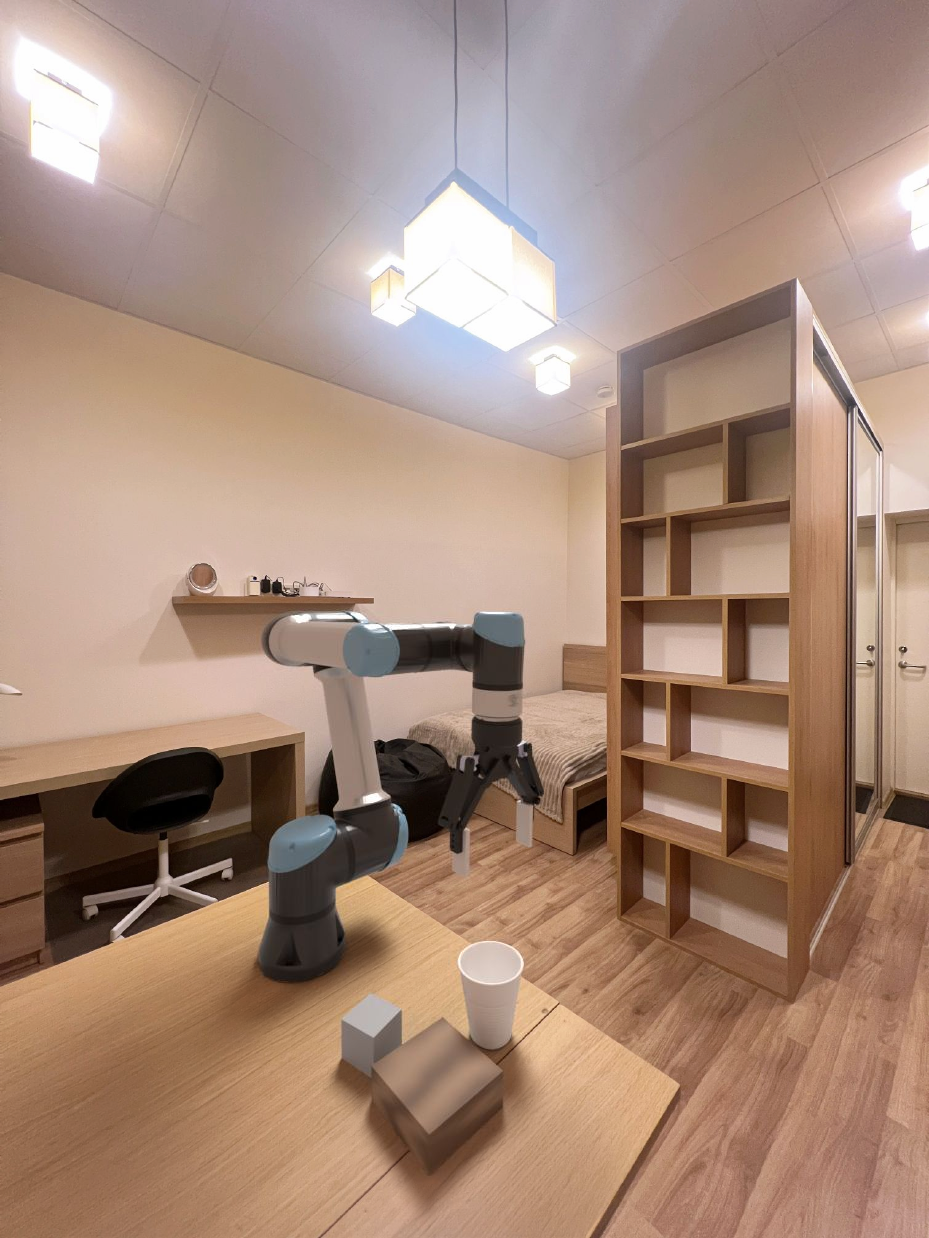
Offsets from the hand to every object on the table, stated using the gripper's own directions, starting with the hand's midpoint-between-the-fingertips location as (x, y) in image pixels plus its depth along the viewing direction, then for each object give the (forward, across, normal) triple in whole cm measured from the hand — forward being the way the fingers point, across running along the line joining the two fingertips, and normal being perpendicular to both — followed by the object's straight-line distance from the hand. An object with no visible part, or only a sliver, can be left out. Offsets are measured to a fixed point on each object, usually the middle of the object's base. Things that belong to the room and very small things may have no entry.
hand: (494, 857), depth 77 cm
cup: (+27, 0, 0) cm, 27 cm away
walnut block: (+27, -13, -3) cm, 30 cm away
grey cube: (+27, -15, +9) cm, 32 cm away
